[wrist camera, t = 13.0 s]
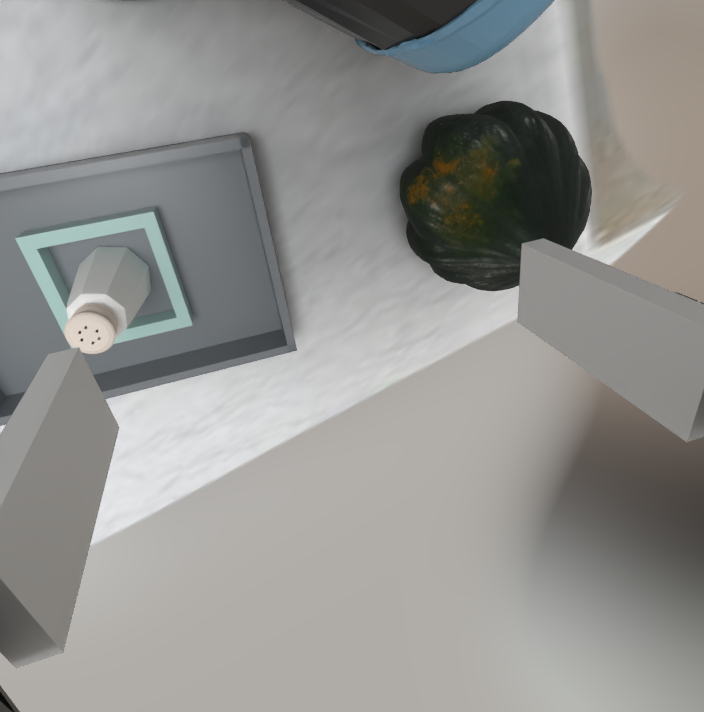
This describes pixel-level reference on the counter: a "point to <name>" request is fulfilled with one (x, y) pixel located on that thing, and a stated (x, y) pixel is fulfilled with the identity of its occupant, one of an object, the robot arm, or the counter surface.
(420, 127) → the counter surface
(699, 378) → the robot arm
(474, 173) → the squash
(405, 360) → the counter surface
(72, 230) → the bin
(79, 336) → the salt shaker
